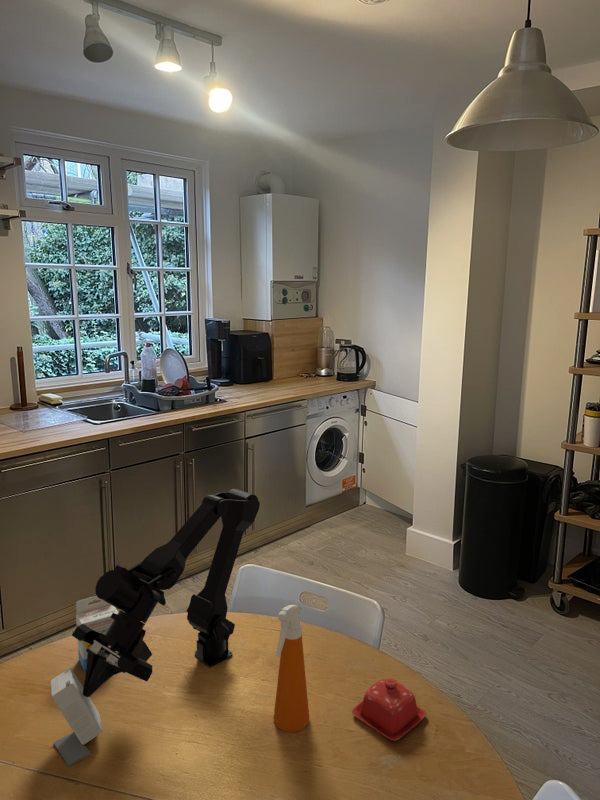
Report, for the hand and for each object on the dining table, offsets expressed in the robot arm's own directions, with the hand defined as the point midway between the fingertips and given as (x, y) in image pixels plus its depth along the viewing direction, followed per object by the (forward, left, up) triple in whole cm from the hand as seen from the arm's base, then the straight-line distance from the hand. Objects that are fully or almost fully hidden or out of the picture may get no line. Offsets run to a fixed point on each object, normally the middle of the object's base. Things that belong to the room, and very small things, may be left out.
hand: (85, 696), depth 111 cm
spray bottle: (-30, +23, -10) cm, 39 cm away
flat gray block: (+3, 0, -9) cm, 10 cm away
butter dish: (-47, +35, -10) cm, 59 cm away
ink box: (-12, -21, -10) cm, 26 cm away
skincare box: (-1, 0, -8) cm, 8 cm away
